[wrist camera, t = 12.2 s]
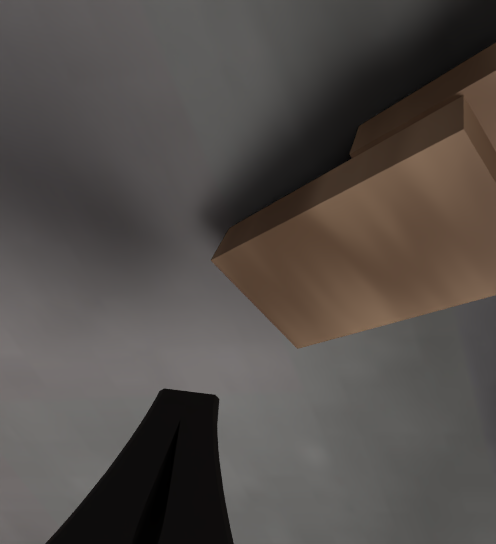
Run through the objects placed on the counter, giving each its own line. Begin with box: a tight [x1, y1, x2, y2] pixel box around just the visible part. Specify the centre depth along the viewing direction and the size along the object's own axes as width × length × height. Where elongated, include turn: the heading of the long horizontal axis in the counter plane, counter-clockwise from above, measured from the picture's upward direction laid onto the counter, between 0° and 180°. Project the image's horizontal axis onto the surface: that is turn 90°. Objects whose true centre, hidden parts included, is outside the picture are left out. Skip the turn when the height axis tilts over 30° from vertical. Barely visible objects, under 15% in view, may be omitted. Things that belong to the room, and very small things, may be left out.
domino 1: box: [211, 95, 496, 349], centre depth 12 cm, size 4×2×7 cm
